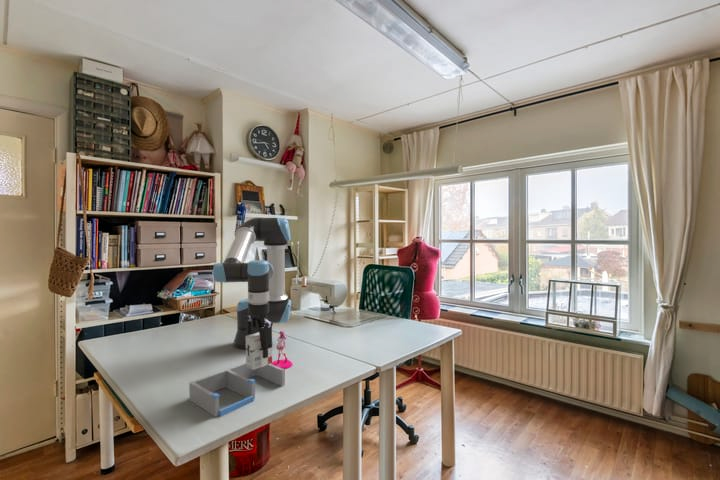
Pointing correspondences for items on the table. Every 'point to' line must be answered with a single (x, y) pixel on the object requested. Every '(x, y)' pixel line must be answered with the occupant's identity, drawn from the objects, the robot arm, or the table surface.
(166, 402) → the table surface
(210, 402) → the divided organizer tray
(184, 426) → the table surface
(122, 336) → the table surface
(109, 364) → the table surface
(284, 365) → the figurine
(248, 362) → the ink box
